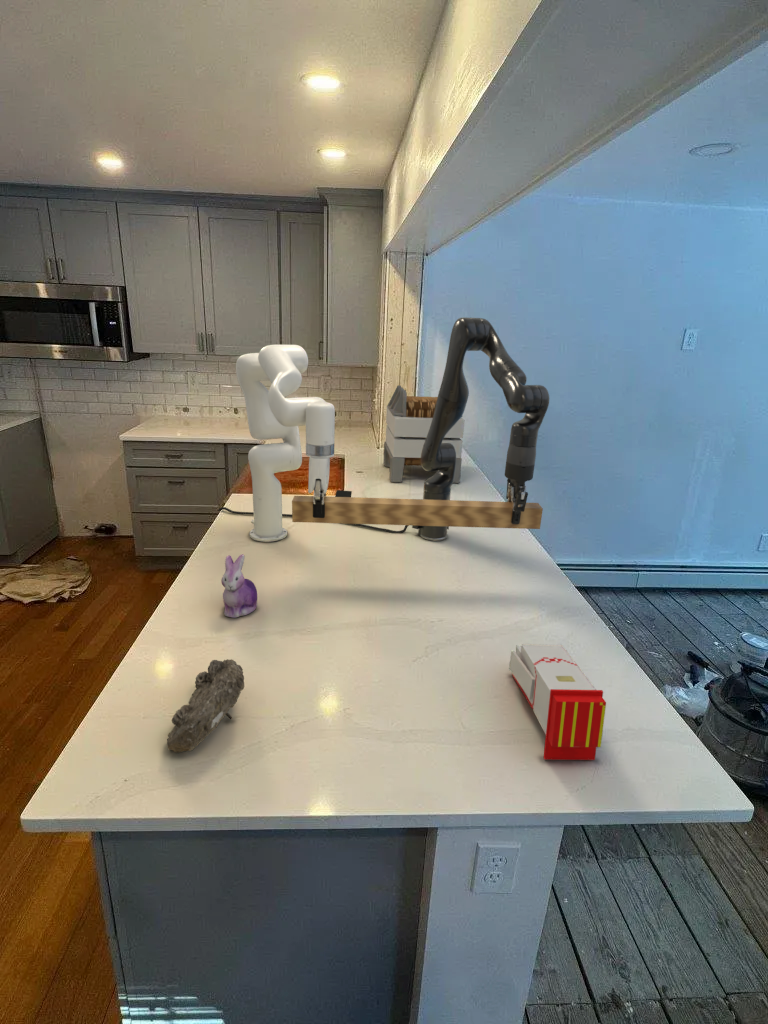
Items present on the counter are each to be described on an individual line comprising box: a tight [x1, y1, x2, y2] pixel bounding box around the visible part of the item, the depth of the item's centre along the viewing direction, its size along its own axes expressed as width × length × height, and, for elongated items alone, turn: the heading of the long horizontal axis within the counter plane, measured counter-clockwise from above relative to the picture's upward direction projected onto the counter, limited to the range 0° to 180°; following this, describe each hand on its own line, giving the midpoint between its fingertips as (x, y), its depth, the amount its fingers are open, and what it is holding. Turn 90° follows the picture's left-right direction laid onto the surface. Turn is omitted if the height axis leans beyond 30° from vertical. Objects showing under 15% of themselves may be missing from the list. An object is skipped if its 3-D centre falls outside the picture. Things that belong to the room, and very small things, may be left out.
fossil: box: [166, 658, 245, 754], centre depth 106 cm, size 22×10×15 cm
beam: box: [291, 495, 544, 530], centre depth 156 cm, size 68×5×6 cm, turn 91°
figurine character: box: [334, 489, 353, 497], centre depth 215 cm, size 7×8×15 cm
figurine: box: [220, 553, 258, 618], centre depth 143 cm, size 9×10×15 cm
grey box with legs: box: [383, 384, 465, 484], centre depth 268 cm, size 34×33×41 cm
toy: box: [508, 643, 607, 761], centre depth 112 cm, size 12×13×30 cm
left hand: (319, 513), depth 156 cm, fingers closed on beam, 4 cm apart
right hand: (512, 519), depth 157 cm, fingers closed on beam, 5 cm apart
